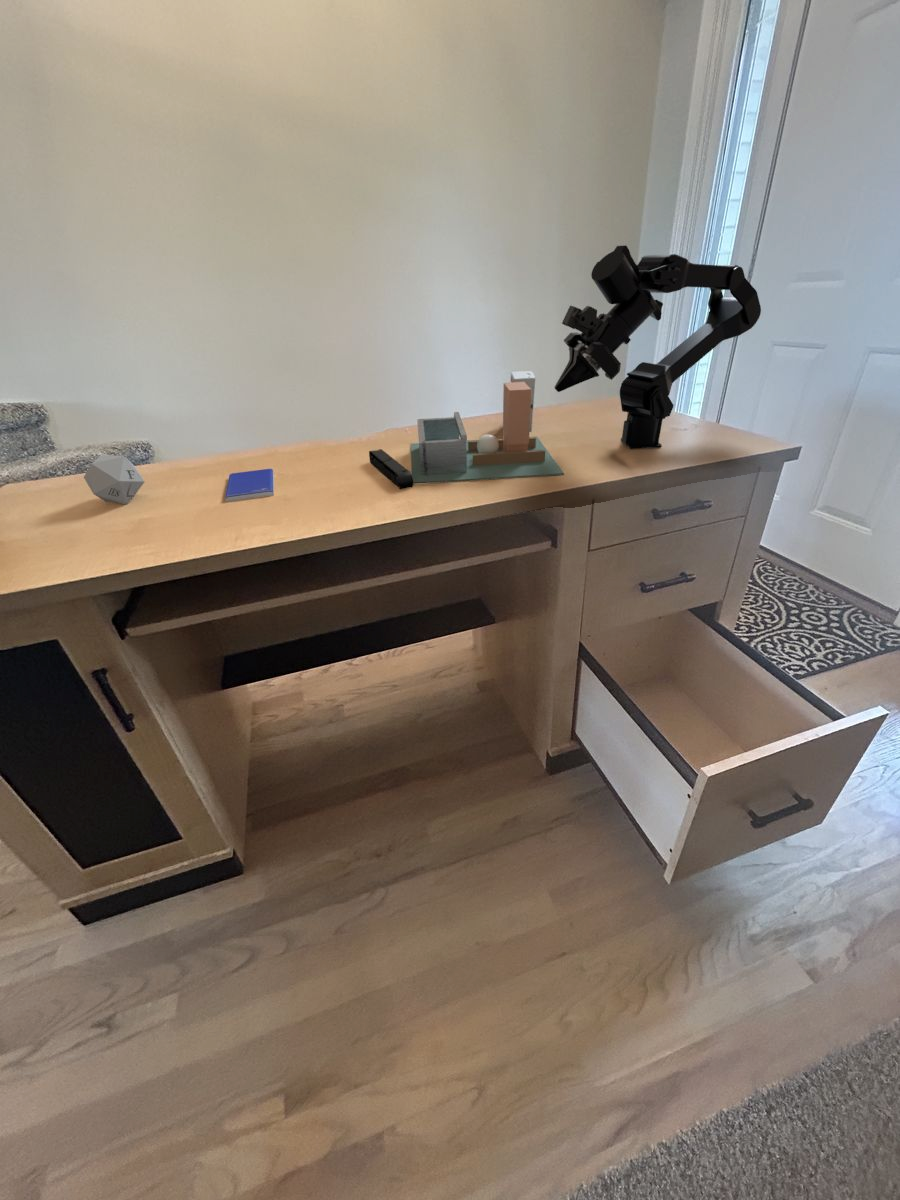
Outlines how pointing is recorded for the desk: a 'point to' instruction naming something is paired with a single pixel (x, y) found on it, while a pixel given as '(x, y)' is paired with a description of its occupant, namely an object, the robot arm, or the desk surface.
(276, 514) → the desk surface
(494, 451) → the ball
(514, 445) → the salmon orange block
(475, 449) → the plate
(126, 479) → the die
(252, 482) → the hard drive
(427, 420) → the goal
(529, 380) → the ink box
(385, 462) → the portable electronic device stand
